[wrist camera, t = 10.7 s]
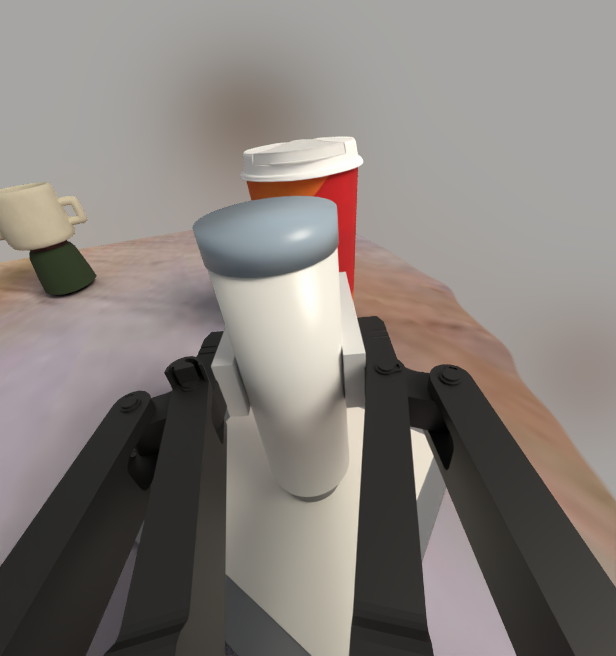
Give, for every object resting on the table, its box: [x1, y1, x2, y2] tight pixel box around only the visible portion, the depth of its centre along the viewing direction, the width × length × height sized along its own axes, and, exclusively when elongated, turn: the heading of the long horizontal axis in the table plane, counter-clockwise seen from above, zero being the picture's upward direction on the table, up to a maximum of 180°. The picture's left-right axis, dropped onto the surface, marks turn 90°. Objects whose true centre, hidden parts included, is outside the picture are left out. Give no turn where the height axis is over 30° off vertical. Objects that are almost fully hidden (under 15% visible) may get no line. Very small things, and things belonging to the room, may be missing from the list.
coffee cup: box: [240, 137, 363, 300], centre depth 24 cm, size 8×8×15 cm
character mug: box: [0, 182, 96, 295], centre depth 40 cm, size 11×7×13 cm, turn 118°
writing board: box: [135, 406, 446, 656], centre depth 17 cm, size 14×14×1 cm
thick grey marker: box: [193, 196, 349, 502], centre depth 13 cm, size 4×4×14 cm
